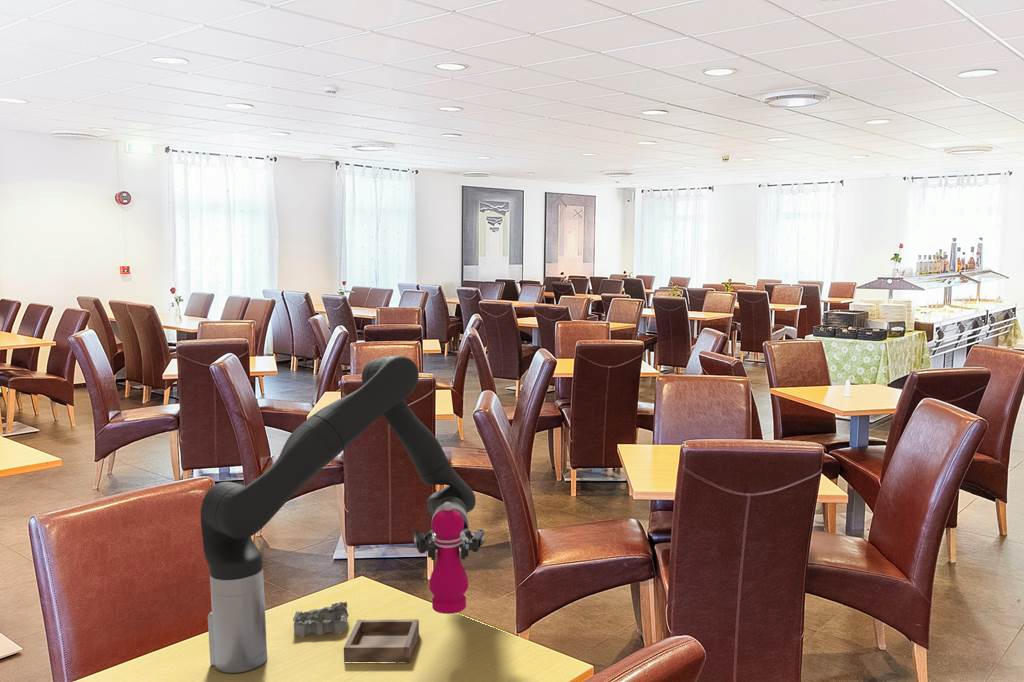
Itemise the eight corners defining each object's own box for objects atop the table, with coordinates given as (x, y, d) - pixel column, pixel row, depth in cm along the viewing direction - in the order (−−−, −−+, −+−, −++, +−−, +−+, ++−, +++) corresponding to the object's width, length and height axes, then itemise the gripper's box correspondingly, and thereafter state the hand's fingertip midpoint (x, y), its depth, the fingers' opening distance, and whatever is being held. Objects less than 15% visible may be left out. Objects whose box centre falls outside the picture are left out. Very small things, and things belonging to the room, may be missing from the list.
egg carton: (350, 620, 174) (349, 600, 173) (345, 636, 166) (345, 616, 166) (297, 622, 173) (296, 603, 173) (290, 638, 165) (290, 618, 165)
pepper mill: (463, 616, 153) (461, 508, 151) (424, 613, 154) (422, 506, 152) (472, 600, 160) (471, 497, 158) (436, 598, 161) (434, 495, 159)
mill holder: (344, 663, 154) (343, 647, 154) (358, 634, 166) (357, 619, 166) (409, 663, 154) (409, 647, 153) (419, 634, 166) (418, 619, 165)
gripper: (413, 508, 169) (408, 535, 152) (485, 506, 170) (487, 533, 153) (414, 544, 170) (408, 575, 153) (485, 542, 171) (488, 573, 154)
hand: (448, 554), depth 153 cm, fingers closed on pepper mill, 4 cm apart
